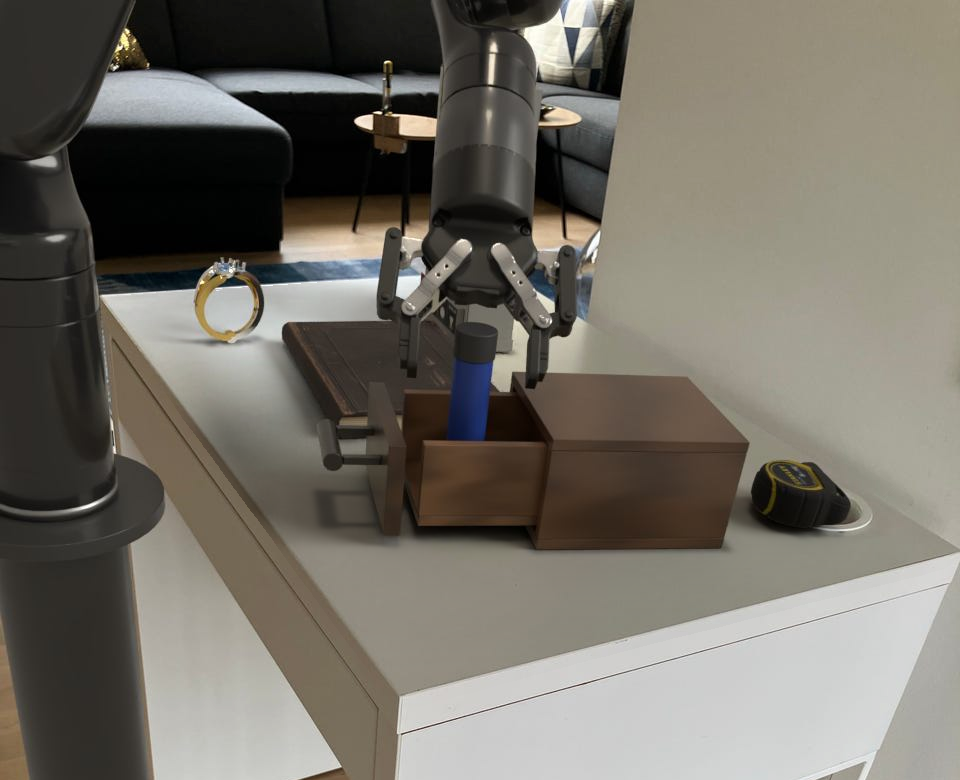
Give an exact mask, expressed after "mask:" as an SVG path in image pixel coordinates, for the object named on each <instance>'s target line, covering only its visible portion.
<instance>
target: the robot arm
mask: <svg viewBox="0 0 960 780" xmlns="http://www.w3.org/2000/svg"><path fill="white" fill-rule="evenodd" d="M136 2H137V0H0V515H3V516H5V517H8V518H12V519H16V520H22V521H29V522H59V521H67V520H73V519H78V518H82V517H86V516H89V515H92V514H94V513H97V512H99V511H101V510H103V509H105V508H106V507H108V506H109V505H110V504H111V503H112V502H113V501H114V500H115V499H116V497H117V495H118V490H119V489H118V479H117V476H116V466H115V462H114V453H115V452H114V447H115V435H114V434H115V433H114V430H113V429H112V421H111V411H110V410H111V409H110V400H109V390H108V389H109V388H108V380H107V379H108V378H107V370H106V369H107V368H106V359H105V347H104V340H103V339H104V338H103V327H102V326H103V325H102V317H101V315H102V314H101V307H100V297H99V286H98V275H97V265H96V264H97V263H96V256H95V254H96V253H95V246H94V245H95V244H94V236H93V228H92V224H91V221H90V219H89V216H88V213H87V212H86V210H85V207H84V205H83V203H82V201H81V199H80V196H79V194H78V191H77V187H76V184H75V182H74V177H73V174H72V170H71V163H70V158H69V150H68V144H69V143H70V142H71V141H72V140H73V139H74V138H75V137H76V136H77V135H78V133H79V132H80V131H81V130H82V128H83V127H84V125H85V124H86V122H87V120H88V118H89V116H90V114H91V112H92V111H93V108H94V106H95V104H96V102H97V99H98V97H99V95H100V92H101V89H102V86H103V84H104V81H105V79H106V77H107V74H108V71H109V69H110V66H111V64H112V62H113V59H114V57H115V54H116V51H117V48H118V46H119V44H120V41H121V39H122V36H123V34H124V31H125V29H126V27H127V24H128V22H129V19H130V16H131V14H132V11H133V10H134V7H135V4H136ZM563 2H564V0H429V3H430V6H431V10H432V12H433V16H434V19H435V20H434V21H435V24H436V28H437V31H438V37H439V44H440V49H441V59H442V64H443V85H442V100H441V114H440V120H439V125H438V129H437V134H436V133H435V138H436V141H435V140H434V150H433V151H434V153H433V154H434V155H433V160H432V176H433V181H432V180H431V189H432V196H431V195H430V203H431V210H430V209H429V216H430V225H429V224H428V231H427V233H426V234H425V236H424V237H423V238H416V237H411V236H404V235H403V232H402V230H401V229H400V228H398V227H396V226H391V227H389V228H387V229H386V230H385V234H384V241H383V248H382V255H381V262H380V267H379V268H380V269H379V276H378V283H377V287H376V288H377V289H376V316H377V317H378V318H379V320H381V321H394V322H395V323H397V324H398V326H399V328H400V335H399V349H398V364H399V367H400V369H407V377H408V378H416V375H417V362H418V347H419V332H420V323H421V322H422V321H423V320H425V319H426V317H427V316H428V315H429V314H430V313H433V312H435V311H436V310H437V308H438V307H439V306H440V305H441V304H442V303H443V302H444V301H445V300H446V299H447V298H449V299H450V300H452V301H455V303H454V304H455V305H471V304H478V305H481V306H484V307H486V308H497V305H502V304H504V305H505V307H506V308H507V309H508V311H509V312H510V314H511V315H512V316H513V318H514V321H515V322H518V323H520V325H521V326H522V328H523V330H525V332H526V333H527V335H528V339H527V342H526V356H525V357H526V358H525V372H526V376H525V388H526V389H535V388H536V385H537V382H542V381H543V379H544V377H545V375H546V373H548V369H549V362H550V361H549V359H550V340H551V339H553V338H555V337H560V338H567V337H569V336H570V335H571V334H572V330H573V326H574V324H575V322H576V320H577V316H578V290H577V255H576V254H577V253H576V249H575V248H574V247H573V246H572V245H569V244H563V245H562V246H561V247H560V248H559V250H558V251H552V250H549V251H548V250H538V248H537V247H536V245H535V242H534V239H533V229H534V228H533V227H534V210H535V209H534V206H535V190H536V189H535V187H536V186H535V185H536V165H537V141H536V135H535V126H534V117H535V97H536V87H537V71H538V70H537V69H538V67H537V59H536V54H535V51H534V50H533V47H532V45H531V44H530V43H529V41H528V40H527V38H525V36H523V35H521V34H520V33H519V32H517V31H516V30H520V29H527V28H533V27H539V26H542V25H545V24H547V23H549V22H550V21H552V20H553V19H554V17H556V15H557V14H558V13H559V10H561V7H562V4H563ZM418 258H420V259H421V261H422V263H423V265H424V266H425V269H426V268H427V269H428V271H429V273H428V274H427V275H426V276H425V277H424V278H423V279H422V281H421V280H420V282H421V283H419V285H418V286H417V287H416V288H415V289H414V291H412V292H411V293H410V294H409V295H408V296H407V297H406V298H405V299H404V298H402V297H400V296H398V295H397V290H398V289H397V288H398V282H399V275H400V270H401V271H404V270H406V269H408V268H409V267H411V264H412V262H413V261H414V260H415V259H418ZM536 270H540V271H541V272H542V273H543V275H544V279H545V280H546V282H547V283H548V284H549V285H553V294H554V295H553V296H554V297H553V299H554V301H553V302H554V312H549V311H548V310H547V308H546V307H545V306H544V304H543V303H542V301H541V300H540V299H539V297H538V294H537V291H536V288H535V287H534V286H533V284H532V283H531V281H530V280H529V278H531V276H533V274H534V273H535V271H536Z"/></svg>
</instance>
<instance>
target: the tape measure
mask: <svg viewBox="0 0 960 780" xmlns="http://www.w3.org/2000/svg"><path fill="white" fill-rule="evenodd" d="M750 495H751V501H752V505H753V506H754V507H755V508H756V510H757V511H759V512H760V513H761V514H763V515H764V516H765V517H766V518H768V519H770V520H772V521H775V522H776V523H778V524H782V525H784V526H785V525H786V526H788V527H789V526H790V527H794V528H801V529H808V528H816V527H822V526H823V527H824V526H834V525H839V524H841V523H843V522H844V521H846V520H847V518H848V515H849V514H850V510H851V508H852V503H851V500H850V499H849V497H848V495H847V494H846V493H845V492H844V490H843V489H842V488H840V487H839V486H838V485H837V484H836V483H835V482H834V481H833V480H832V479H831V478H830V477H829V475H828V474H826V473H825V472H824V471H823V470H822V469H821V467H820V466H819V465H818V464H817V463H815V462H813V461H803V462H797V461H793V460H789V459H777V460H776V459H775V460H772V461H771V460H770V461H768V462H766V463H764V464H762V466H761V467H760V468H759V470H758V471H757V472H756V473H755V475H754V478H753V481H752V484H751V489H750Z"/></svg>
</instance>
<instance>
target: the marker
mask: <svg viewBox="0 0 960 780" xmlns="http://www.w3.org/2000/svg"><path fill="white" fill-rule="evenodd" d="M497 339H498V330H497V329H496V328H495V327H493V326H491V325H488V324H484V323H479V322H464V323H460V324H458V325H456V327H455V337H454V347H453V355H454V363H453V373H452V384H451V395H450V405H449V416H448V427H447V437H446V441H484V439H485V430H486V422H487V413H488V404H489V396H490V387H491V383H492V377H493V369H494V361H495V360H496V356H497V352H496V348H497Z"/></svg>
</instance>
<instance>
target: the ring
mask: <svg viewBox="0 0 960 780" xmlns="http://www.w3.org/2000/svg"><path fill="white" fill-rule="evenodd" d="M239 264H240V260H239V259H233V258H231V257H229V258H228V262H225V257H220V262H218V261H215V262H214V263H213V265H212V266H210V267H209V268H207V269H206V270H205V271H204V272H203V273H202V274H201V276H200V278H199V279H198V281H197V284H196V287H195V291H194V295H193V311H194V315H195V318H196V320H197V322H198V323H199V326H201V328H202V329H203V330H204V332H205V333H207V334H208V335H209V336H210V337H212V338H214V339H216V340H218V341H223V342H227V343H228V344H234V343H236V342H237V341H239V340H242V339H243V338H246V337H247V336H249V335H250V334H251V333H252V332H253V331H254V330H255V329H256V327H257V326H258V325H259V323H260V322H261V320H262V318H263V314H264V309H265V297H264V296H265V295H264V291H263V288H262V285H261V284H260V281H259V280H258V278H257V277H256V276H255V275H254V274H253V273H251V272H249V271H248V270H246V265H247V262H246V261H245V262H244V261H242V264H241V266H240V265H239ZM215 274H216V275H217V276H214V275H215ZM213 276H214V277H213ZM233 277H235V278H237V279H238V280H241V281H242V282H243V283H245V284H246V285H247V287H248V289H249V290H250V292H251V294H252V299H253V310H252V314H251V316H250V318H249V320H248V322H247V323H246V324H245V325H244V326H243V327H241V328H239V329H237V330H234V331H233V330H232V329H226V330H225V331H224V332H223V331H222V332H221V331H217V330H216V329H213V328H212V327H211V326H210V325H209V323H208V321H207V318H206V315H205V306H206V302H207V301H208V298H209V297H210V295H211V294H212V293H213V292H214V291H215V290H216V288H218V287H219V286H220V285H222V284H224V283H225V282H226V281H227V279H230V278H233Z"/></svg>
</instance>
